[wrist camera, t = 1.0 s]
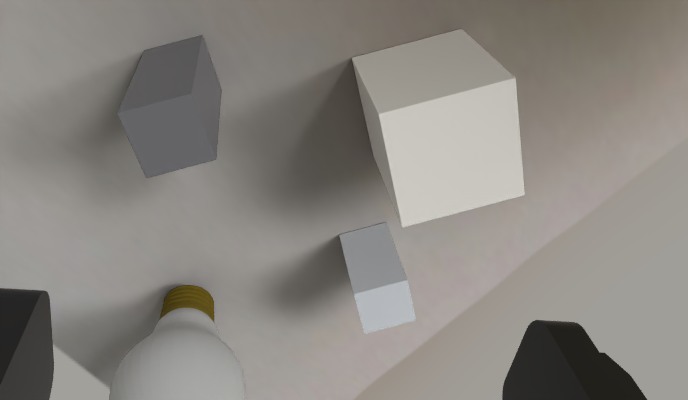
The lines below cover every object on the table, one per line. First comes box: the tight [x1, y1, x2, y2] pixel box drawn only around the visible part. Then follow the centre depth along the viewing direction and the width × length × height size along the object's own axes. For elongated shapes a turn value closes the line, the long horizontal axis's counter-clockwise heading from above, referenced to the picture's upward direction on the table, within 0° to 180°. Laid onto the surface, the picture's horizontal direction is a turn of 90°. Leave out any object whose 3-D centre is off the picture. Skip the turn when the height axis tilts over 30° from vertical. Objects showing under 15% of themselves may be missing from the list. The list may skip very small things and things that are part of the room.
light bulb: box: [109, 285, 246, 400], centre depth 30 cm, size 6×6×10 cm
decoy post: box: [339, 223, 416, 334], centre depth 32 cm, size 3×3×5 cm
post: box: [117, 35, 222, 178], centre depth 25 cm, size 3×3×7 cm
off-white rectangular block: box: [352, 29, 525, 228], centre depth 27 cm, size 5×5×7 cm
